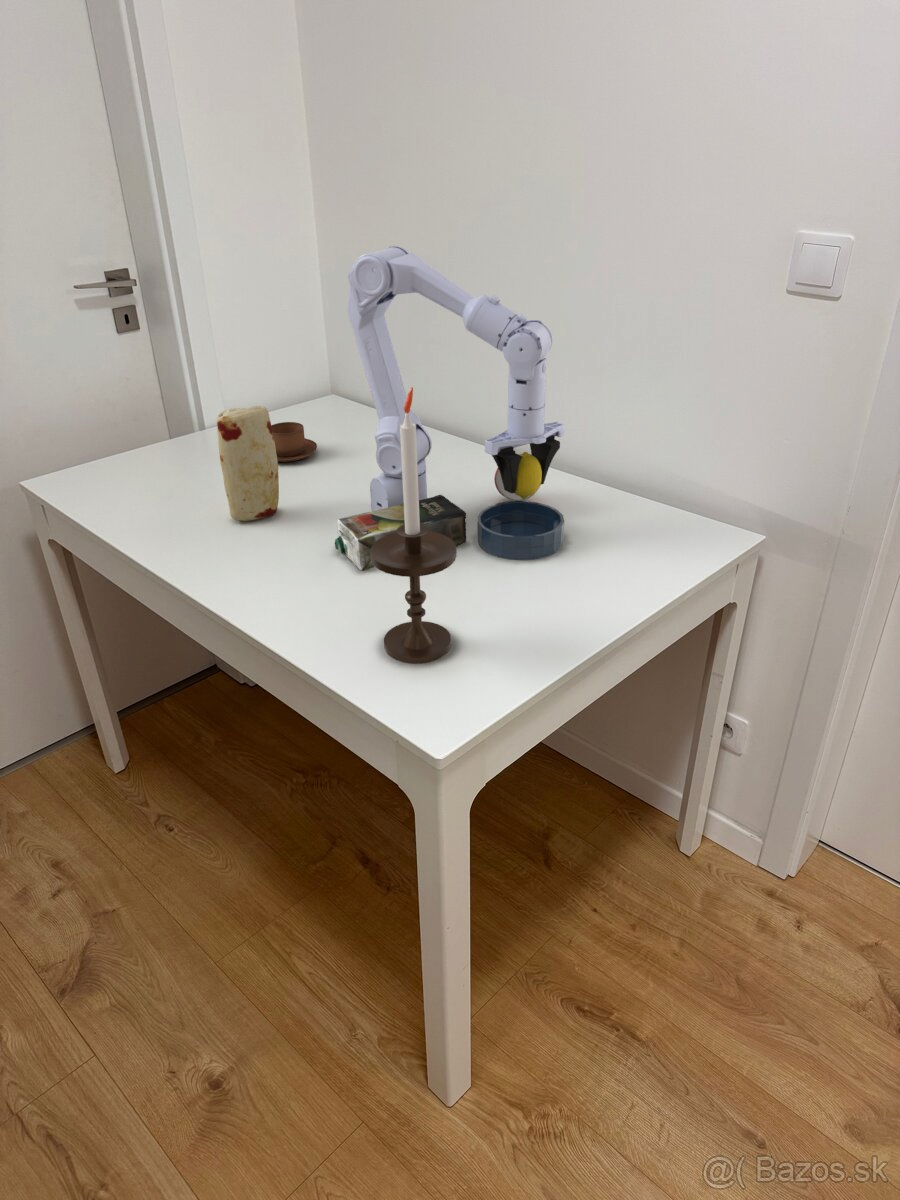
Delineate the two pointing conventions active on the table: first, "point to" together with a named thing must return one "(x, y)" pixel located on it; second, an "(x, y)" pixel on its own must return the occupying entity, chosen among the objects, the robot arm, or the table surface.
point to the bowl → (520, 530)
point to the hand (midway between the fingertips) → (524, 486)
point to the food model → (248, 462)
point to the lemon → (528, 476)
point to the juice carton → (374, 525)
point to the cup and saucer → (291, 442)
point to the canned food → (504, 493)
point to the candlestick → (413, 563)
